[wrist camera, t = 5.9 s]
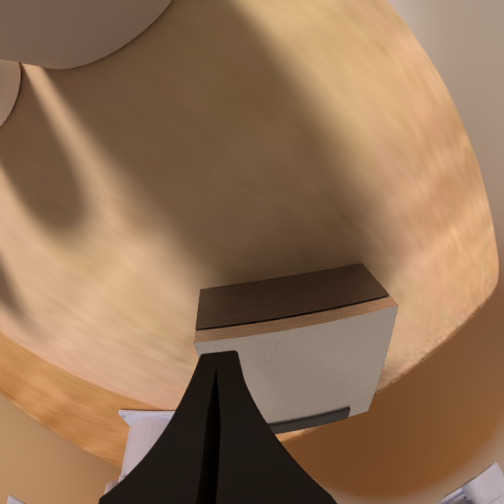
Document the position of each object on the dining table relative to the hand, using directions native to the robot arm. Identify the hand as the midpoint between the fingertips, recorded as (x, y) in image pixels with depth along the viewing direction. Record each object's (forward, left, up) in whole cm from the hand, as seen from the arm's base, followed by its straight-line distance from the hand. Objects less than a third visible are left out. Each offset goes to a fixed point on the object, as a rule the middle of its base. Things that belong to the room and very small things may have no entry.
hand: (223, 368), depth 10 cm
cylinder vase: (+21, +6, -10) cm, 24 cm away
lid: (-8, -4, -5) cm, 10 cm away
